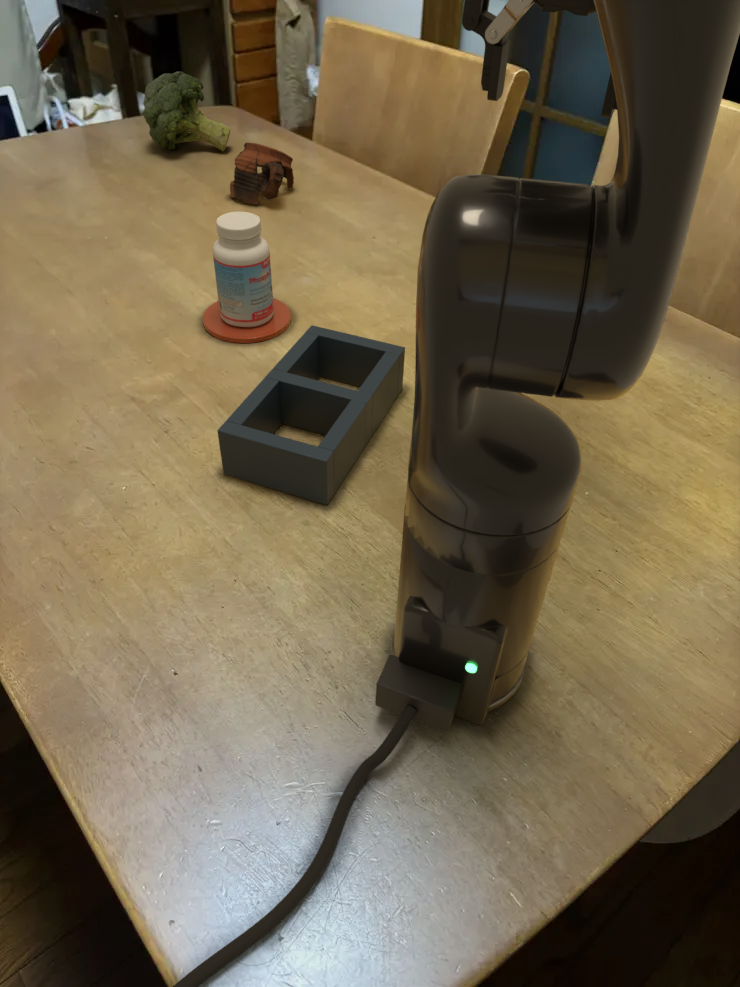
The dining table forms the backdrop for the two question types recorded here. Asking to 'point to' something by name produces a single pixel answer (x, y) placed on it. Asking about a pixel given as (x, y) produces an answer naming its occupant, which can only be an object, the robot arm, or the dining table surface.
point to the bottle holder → (313, 413)
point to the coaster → (247, 334)
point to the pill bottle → (242, 270)
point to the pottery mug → (265, 182)
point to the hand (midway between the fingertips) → (550, 106)
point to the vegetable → (180, 112)
